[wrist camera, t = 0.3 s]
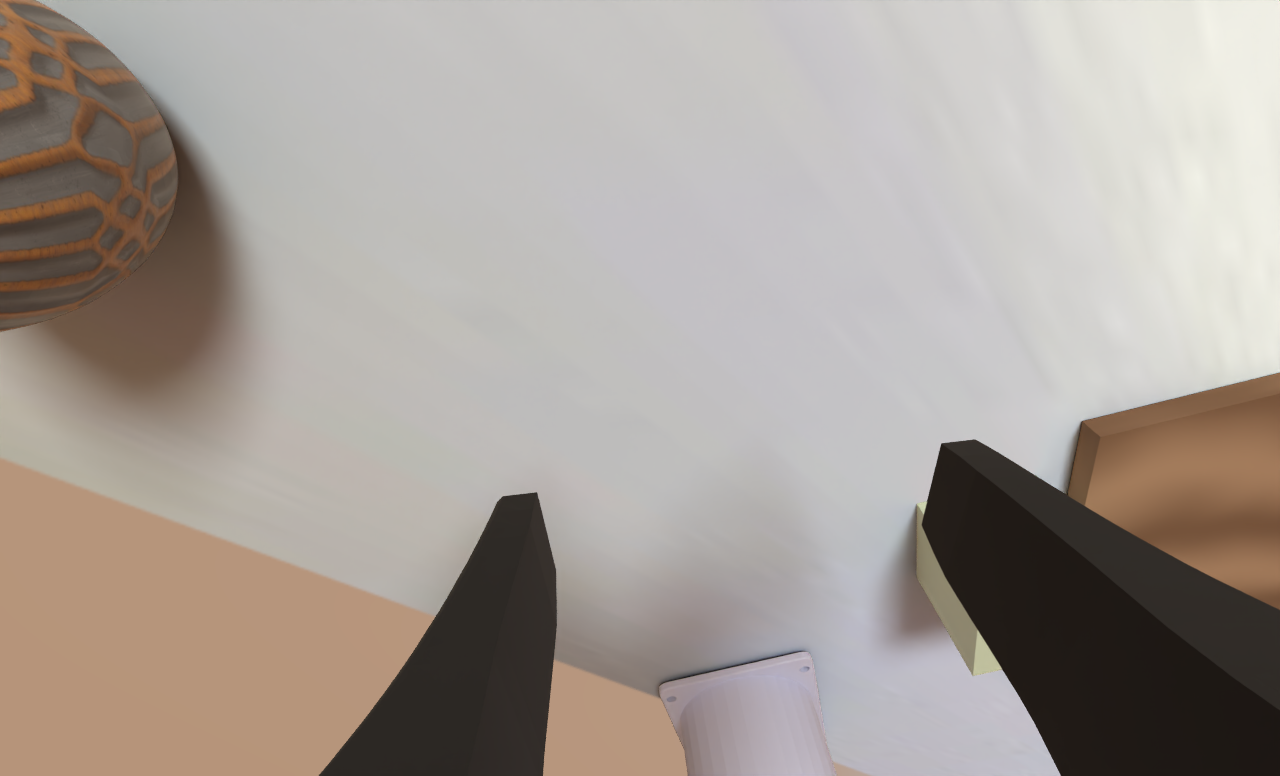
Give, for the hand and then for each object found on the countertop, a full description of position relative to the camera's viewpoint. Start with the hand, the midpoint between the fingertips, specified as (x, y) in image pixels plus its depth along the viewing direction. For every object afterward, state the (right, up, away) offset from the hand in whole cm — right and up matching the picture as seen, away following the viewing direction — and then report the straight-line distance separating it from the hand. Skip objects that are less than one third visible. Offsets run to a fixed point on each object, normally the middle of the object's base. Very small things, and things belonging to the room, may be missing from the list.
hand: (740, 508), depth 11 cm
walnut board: (+23, -4, +17) cm, 29 cm away
